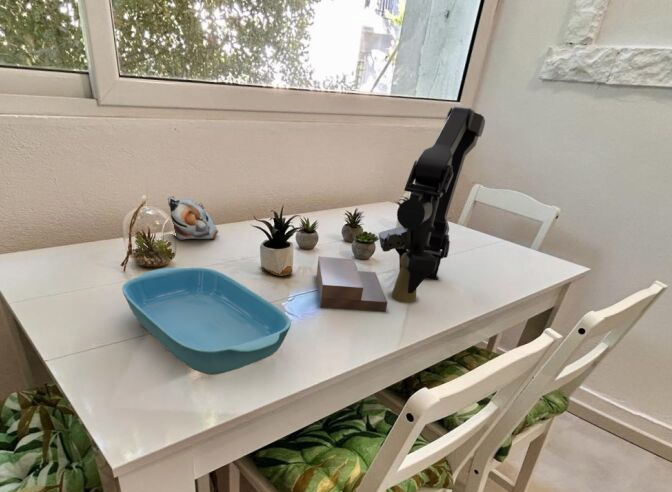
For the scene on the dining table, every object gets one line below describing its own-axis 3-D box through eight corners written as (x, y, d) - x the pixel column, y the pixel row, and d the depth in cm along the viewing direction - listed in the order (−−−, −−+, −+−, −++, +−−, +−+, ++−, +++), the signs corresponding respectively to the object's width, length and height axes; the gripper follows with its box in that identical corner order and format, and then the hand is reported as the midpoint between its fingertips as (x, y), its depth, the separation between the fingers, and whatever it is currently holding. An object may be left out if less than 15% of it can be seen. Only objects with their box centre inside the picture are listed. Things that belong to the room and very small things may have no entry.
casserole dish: (310, 360, 85) (314, 325, 81) (205, 401, 72) (203, 363, 68) (205, 289, 107) (204, 259, 103) (109, 311, 94) (104, 278, 90)
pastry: (298, 275, 118) (299, 261, 116) (275, 279, 115) (276, 264, 113) (280, 263, 124) (281, 249, 122) (258, 266, 121) (258, 252, 119)
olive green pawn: (414, 293, 115) (424, 250, 109) (416, 304, 110) (427, 259, 104) (390, 291, 115) (399, 247, 109) (391, 301, 110) (401, 256, 104)
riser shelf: (373, 281, 120) (377, 260, 116) (385, 312, 105) (390, 289, 102) (316, 277, 119) (318, 256, 115) (320, 307, 104) (322, 284, 101)
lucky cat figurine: (227, 236, 138) (222, 200, 126) (198, 259, 134) (190, 224, 121) (191, 211, 142) (184, 173, 129) (162, 233, 137) (151, 195, 125)
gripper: (378, 205, 109) (367, 268, 118) (393, 228, 94) (379, 299, 103) (424, 209, 110) (410, 272, 119) (446, 232, 95) (428, 302, 103)
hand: (405, 285), depth 111 cm, fingers open, 9 cm apart
